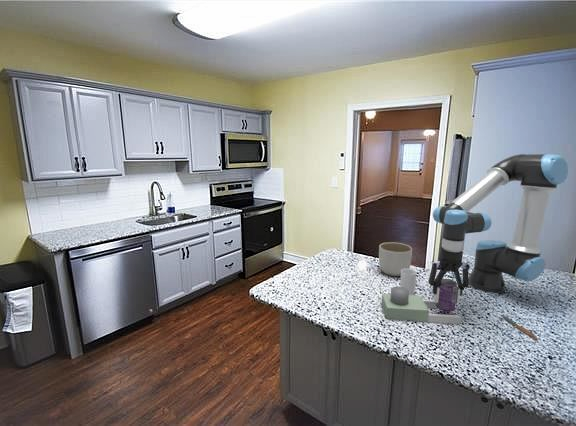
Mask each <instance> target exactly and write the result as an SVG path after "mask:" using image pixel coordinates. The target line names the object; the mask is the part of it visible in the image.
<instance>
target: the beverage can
mask: <svg viewBox="0 0 576 426" xmlns="http://www.w3.org/2000/svg"><path fill="white" fill-rule="evenodd" d="M457 286H458V284H457V281H456V280H452V279H450V278H449V279H448V278H443V279H442V280H441V282H440V284H439V286H438V287H439V288H440V291H439V300H438V303H436V307H437V308H436V309H439V310H440V311H442V312H445V313H451V312H455V310H456V306H457V304H456V298H457V291H458V287H457Z"/></svg>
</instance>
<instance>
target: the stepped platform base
mask: <svg viewBox="0 0 576 426" xmlns="http://www.w3.org/2000/svg"><path fill="white" fill-rule="evenodd" d="M381 306H382V310H383V312H384V315H385V319H386V320H398V321H411V322H413V321H414V322H427V323H436V324H438V323H439V324H453V325H461V323H462V316H461V315H455V314H454V315H453V314H452V315H451V314H439V313H438V314H437V313H430V310H429V309H431V308H432V309H438V308H437V307H436V302H435V300H434V299H432V300H431V299H423V298H422V296H421V295H415V294H414V295H409V290H408V289H406V288H404V287H400V286H397V285H396V286H392V287H391V289H390V293H381Z"/></svg>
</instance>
